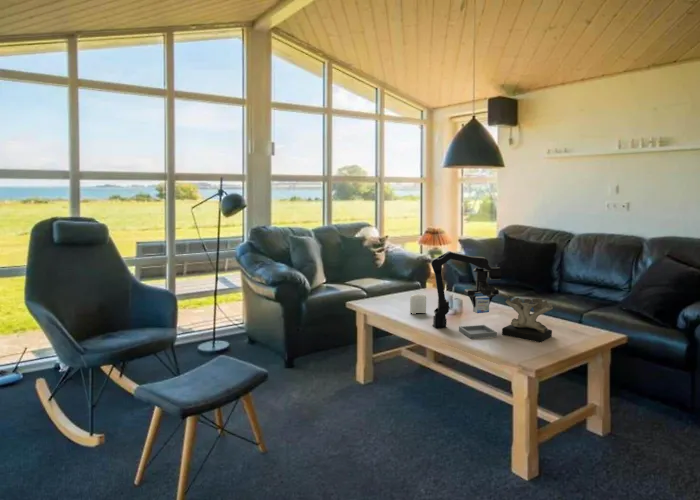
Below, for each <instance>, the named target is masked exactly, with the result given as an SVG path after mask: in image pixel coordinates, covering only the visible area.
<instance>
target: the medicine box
mask: <svg viewBox="0 0 700 500" xmlns="http://www.w3.org/2000/svg"><path fill="white" fill-rule="evenodd" d="M472 312H473V313H475V314H483V313H485V314H486V313H490V304H489V297H487V295H483V296H482V295H481V296H480V295H479V296H476V297H475V307H473V306H472Z"/></svg>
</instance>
